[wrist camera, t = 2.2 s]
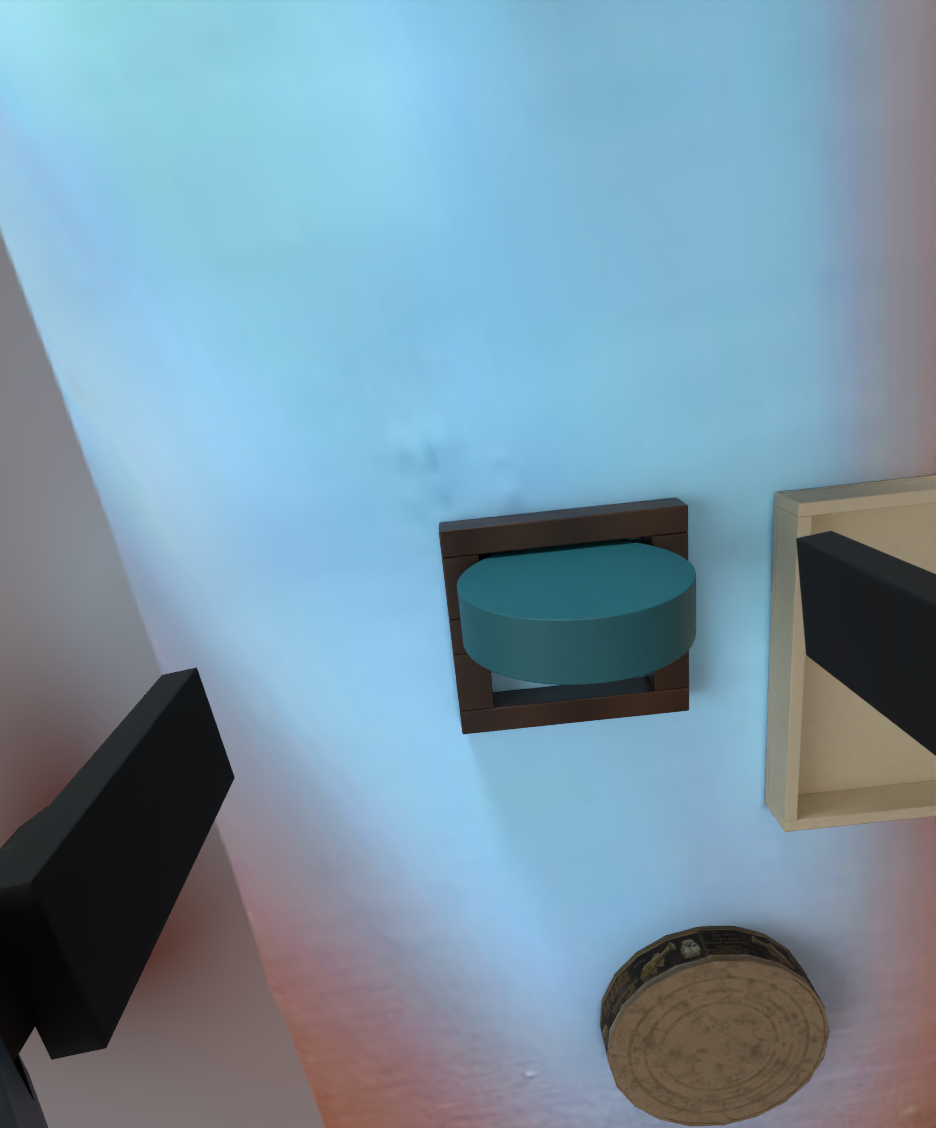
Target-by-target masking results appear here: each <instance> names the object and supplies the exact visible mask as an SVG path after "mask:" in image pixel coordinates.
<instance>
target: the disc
mask: <svg viewBox="0 0 936 1128" xmlns="http://www.w3.org/2000/svg"><path fill="white" fill-rule="evenodd" d="M457 591H458V600H459V609H460V618H461V627H462V636H463V645H464V648H465V650H466V652H467V653H468V655H469V656H470V657H471V658H472V659H473V660H474V661H475V662H477V663H478V664H479V665H481V666H483V667H484V668H486V669H488V670H490V671H493V672H495V673H497V674H500V675H503V676H507V677H510V678H514V679H518V680H523V681H529V682H536V683H543V684H557V685H582V684H597V683H606V682H613V681H619V680H624V679H629V678H633V677H637V676H641V675H644V674H647V673H650V672H653V671H656V670H658V669H660V668H663V667H665V666H667V665H669V664H671V663H672V662H674V661H676V660H677V659H679V658H680V657H681V656H683V655H684V654H685V653H686V652H687V651H688V650H689V649H690V647H691V646H692V644H693V642H694V640H695V635H696V573H695V569H694V568H693V566H692V565H691V563H690V562H689V561H687V560H686V559H685V558H683V557H682V556H680V555H678V554H676V553H674V552H671V551H669V550H666V549H663V548H659V547H655V546H651V545H646V544H641V543H635V542H627V541H616V540H609V541H599V542H590V543H580V544H571V545H561V546H552V547H542V548H533V549H523V550H514V551H505V552H501V553H498V554H496V555H493V556H490V557H488V558H486V559H483V560H481V561H479V562H477V563H476V564H474V565H472V566H471V567H469V568H468V569H467V570H466V571H465V572H464V573H463V574H462V575H461V576H460V578H459V579H458V583H457Z"/></svg>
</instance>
